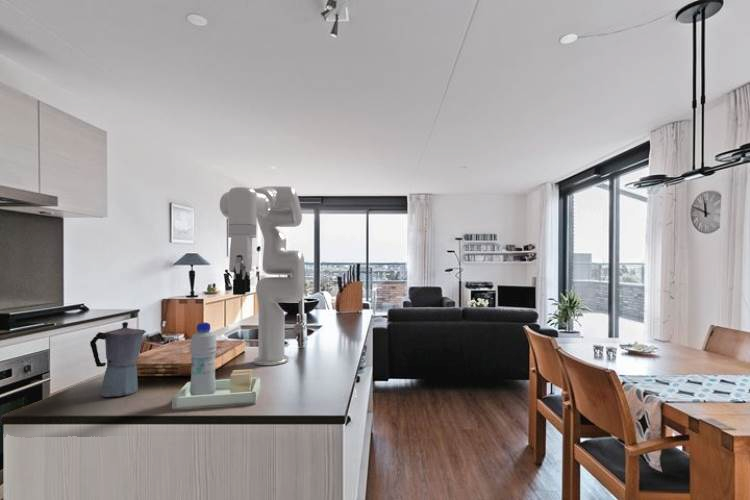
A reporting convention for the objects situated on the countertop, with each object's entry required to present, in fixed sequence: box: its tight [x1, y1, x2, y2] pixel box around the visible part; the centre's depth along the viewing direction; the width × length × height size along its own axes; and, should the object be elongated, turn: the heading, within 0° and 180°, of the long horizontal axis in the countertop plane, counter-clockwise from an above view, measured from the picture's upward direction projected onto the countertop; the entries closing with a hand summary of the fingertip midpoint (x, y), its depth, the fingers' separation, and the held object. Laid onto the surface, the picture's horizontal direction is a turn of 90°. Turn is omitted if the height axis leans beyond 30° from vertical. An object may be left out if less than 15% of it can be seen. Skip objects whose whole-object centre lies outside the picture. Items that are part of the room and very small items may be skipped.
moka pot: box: [89, 321, 147, 398], centre depth 109 cm, size 10×15×20 cm, turn 161°
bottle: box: [189, 322, 218, 396], centre depth 104 cm, size 7×7×20 cm
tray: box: [171, 376, 262, 411], centre depth 104 cm, size 14×20×3 cm
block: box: [229, 368, 253, 393], centre depth 105 cm, size 5×5×6 cm
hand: (242, 293), depth 106 cm, fingers open, 9 cm apart
